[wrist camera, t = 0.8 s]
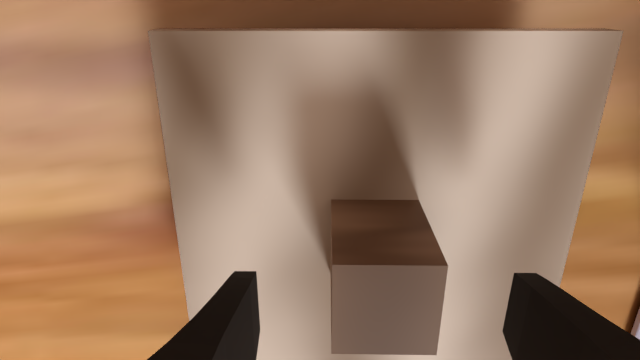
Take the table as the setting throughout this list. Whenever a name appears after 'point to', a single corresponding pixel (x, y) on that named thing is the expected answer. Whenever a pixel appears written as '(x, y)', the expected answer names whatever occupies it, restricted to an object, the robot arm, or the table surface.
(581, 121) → the lid
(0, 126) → the table surface
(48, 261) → the table surface
